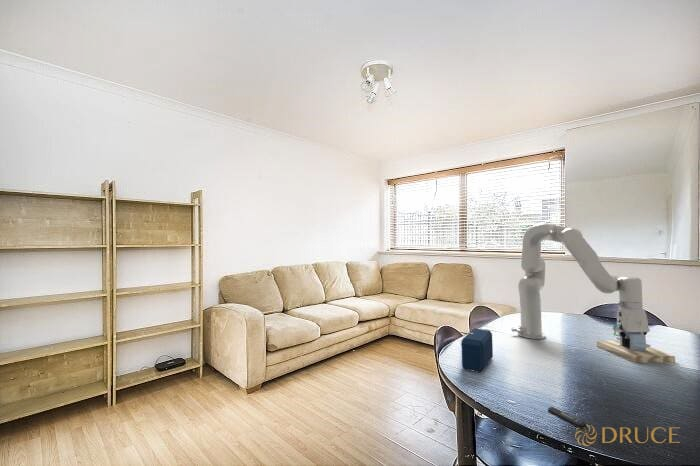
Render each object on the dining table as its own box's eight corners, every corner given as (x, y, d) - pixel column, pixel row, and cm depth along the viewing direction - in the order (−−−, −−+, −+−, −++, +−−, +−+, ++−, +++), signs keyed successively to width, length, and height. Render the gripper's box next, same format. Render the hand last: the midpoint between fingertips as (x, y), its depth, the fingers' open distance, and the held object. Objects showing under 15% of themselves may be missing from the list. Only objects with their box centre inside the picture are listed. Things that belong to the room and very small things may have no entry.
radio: (472, 354, 138) (471, 309, 139) (493, 358, 133) (492, 311, 134) (459, 370, 121) (457, 319, 122) (483, 375, 116) (481, 322, 117)
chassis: (635, 362, 126) (634, 356, 126) (596, 346, 146) (596, 340, 146) (675, 362, 125) (674, 355, 125) (631, 345, 145) (631, 340, 145)
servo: (638, 353, 130) (637, 335, 130) (616, 344, 141) (615, 328, 141) (650, 353, 130) (649, 335, 130) (627, 344, 141) (626, 328, 141)
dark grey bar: (546, 412, 91) (546, 407, 91) (552, 410, 92) (552, 405, 92) (581, 430, 83) (581, 424, 83) (587, 427, 84) (587, 421, 84)
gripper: (618, 307, 132) (620, 350, 132) (658, 306, 132) (660, 349, 132) (604, 303, 140) (606, 344, 139) (642, 303, 140) (644, 343, 139)
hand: (632, 346), depth 136 cm, fingers closed on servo, 5 cm apart
